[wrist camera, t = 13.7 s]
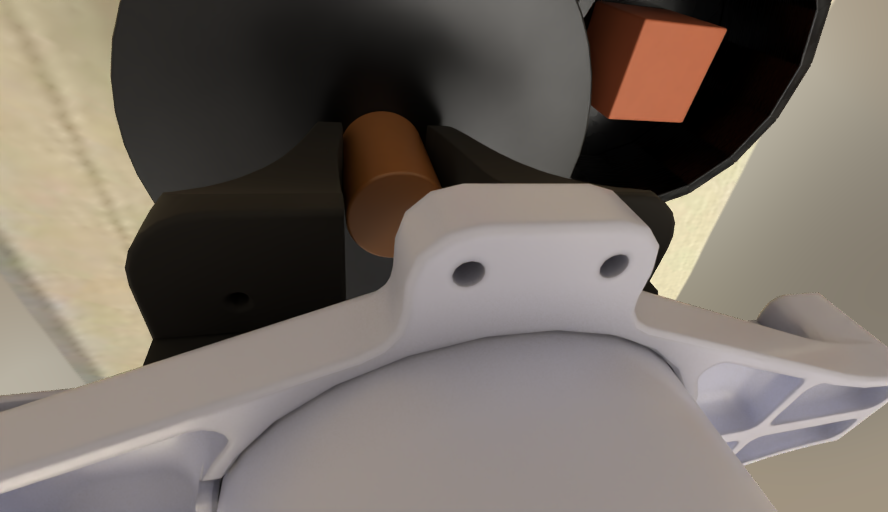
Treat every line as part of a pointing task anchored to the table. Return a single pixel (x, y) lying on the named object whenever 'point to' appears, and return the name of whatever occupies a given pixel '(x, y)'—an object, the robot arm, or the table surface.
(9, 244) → the table surface
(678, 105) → the block
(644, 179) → the pot
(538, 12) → the lid
